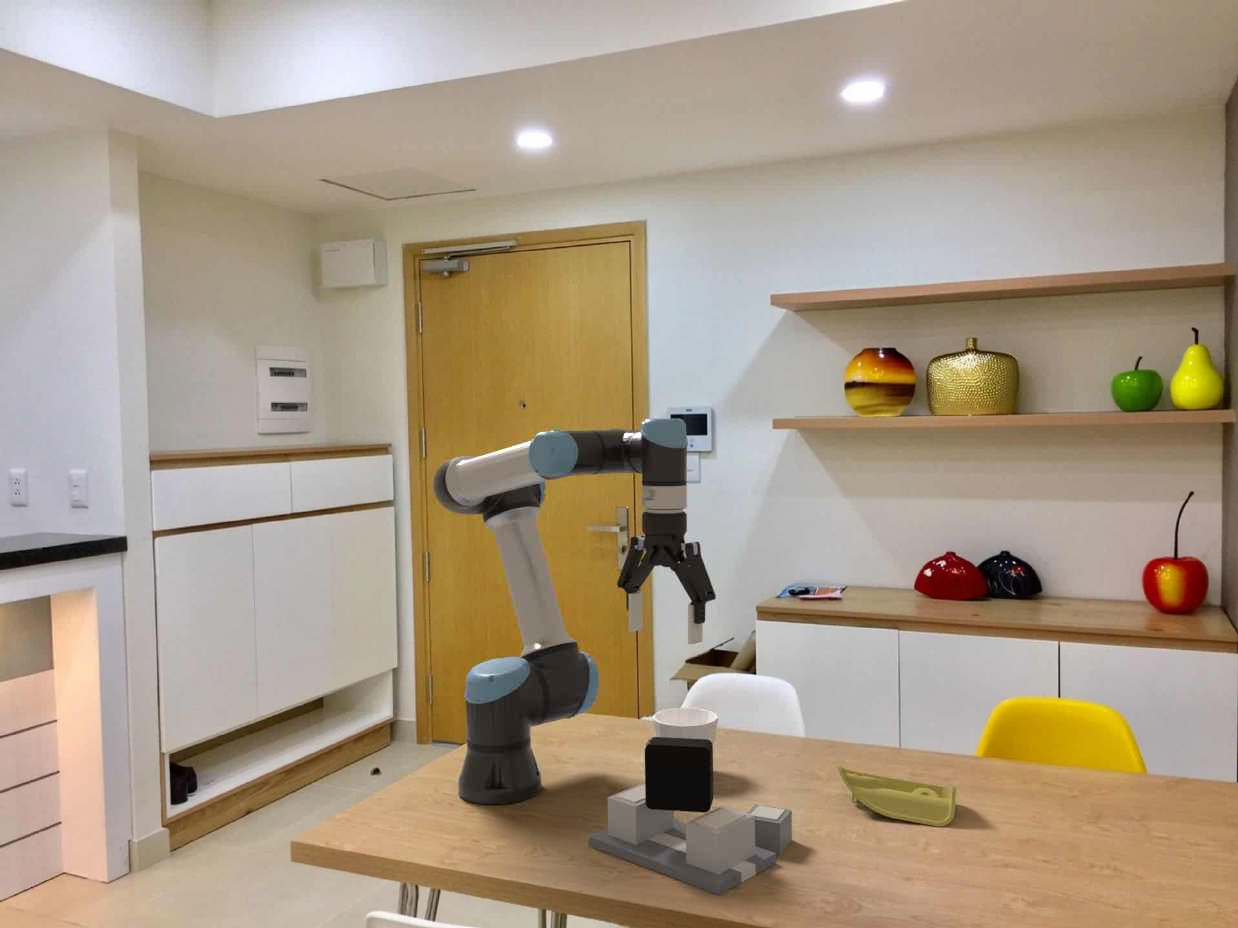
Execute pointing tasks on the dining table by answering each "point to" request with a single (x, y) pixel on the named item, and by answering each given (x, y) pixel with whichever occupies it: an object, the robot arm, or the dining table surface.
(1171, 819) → the dining table surface
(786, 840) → the module
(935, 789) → the plastic component
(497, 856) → the dining table surface
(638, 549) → the robot arm
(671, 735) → the cup
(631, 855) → the board
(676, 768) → the electronic device
